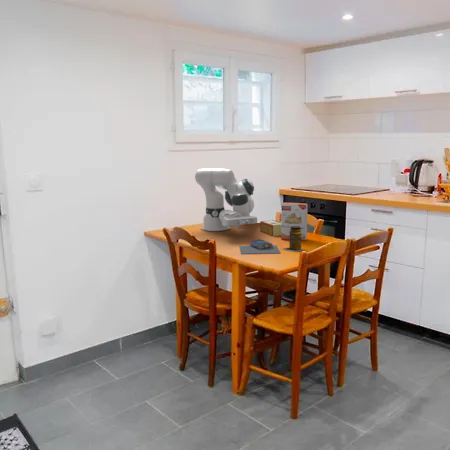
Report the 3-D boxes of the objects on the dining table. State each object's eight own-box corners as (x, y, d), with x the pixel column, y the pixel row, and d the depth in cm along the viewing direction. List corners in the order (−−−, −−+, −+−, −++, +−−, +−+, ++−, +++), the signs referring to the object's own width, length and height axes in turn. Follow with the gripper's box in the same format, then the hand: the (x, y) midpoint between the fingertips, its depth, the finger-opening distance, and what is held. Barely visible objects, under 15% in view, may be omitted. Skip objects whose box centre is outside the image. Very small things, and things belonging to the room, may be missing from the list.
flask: (249, 246, 254) (260, 250, 245) (249, 240, 254) (260, 244, 245) (264, 244, 259) (275, 248, 249) (264, 238, 258) (275, 242, 249)
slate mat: (239, 246, 255) (239, 245, 255) (276, 245, 256) (276, 245, 256) (241, 254, 239) (241, 253, 238) (280, 253, 239) (280, 252, 239)
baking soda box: (260, 231, 294) (272, 236, 280) (260, 221, 293) (272, 225, 279) (273, 230, 298) (286, 235, 284) (273, 220, 297) (286, 224, 282)
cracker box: (280, 239, 271) (281, 203, 267) (283, 237, 276) (283, 202, 272) (305, 241, 266) (305, 204, 262) (307, 239, 271) (307, 203, 268)
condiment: (304, 249, 247) (305, 227, 244) (292, 251, 242) (292, 228, 240) (295, 247, 253) (295, 224, 250) (283, 249, 248) (283, 226, 246)
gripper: (250, 223, 283) (262, 226, 271) (219, 226, 274) (230, 229, 262) (250, 212, 282) (262, 215, 270) (219, 215, 273) (230, 218, 261)
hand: (246, 222), depth 266 cm, fingers closed
